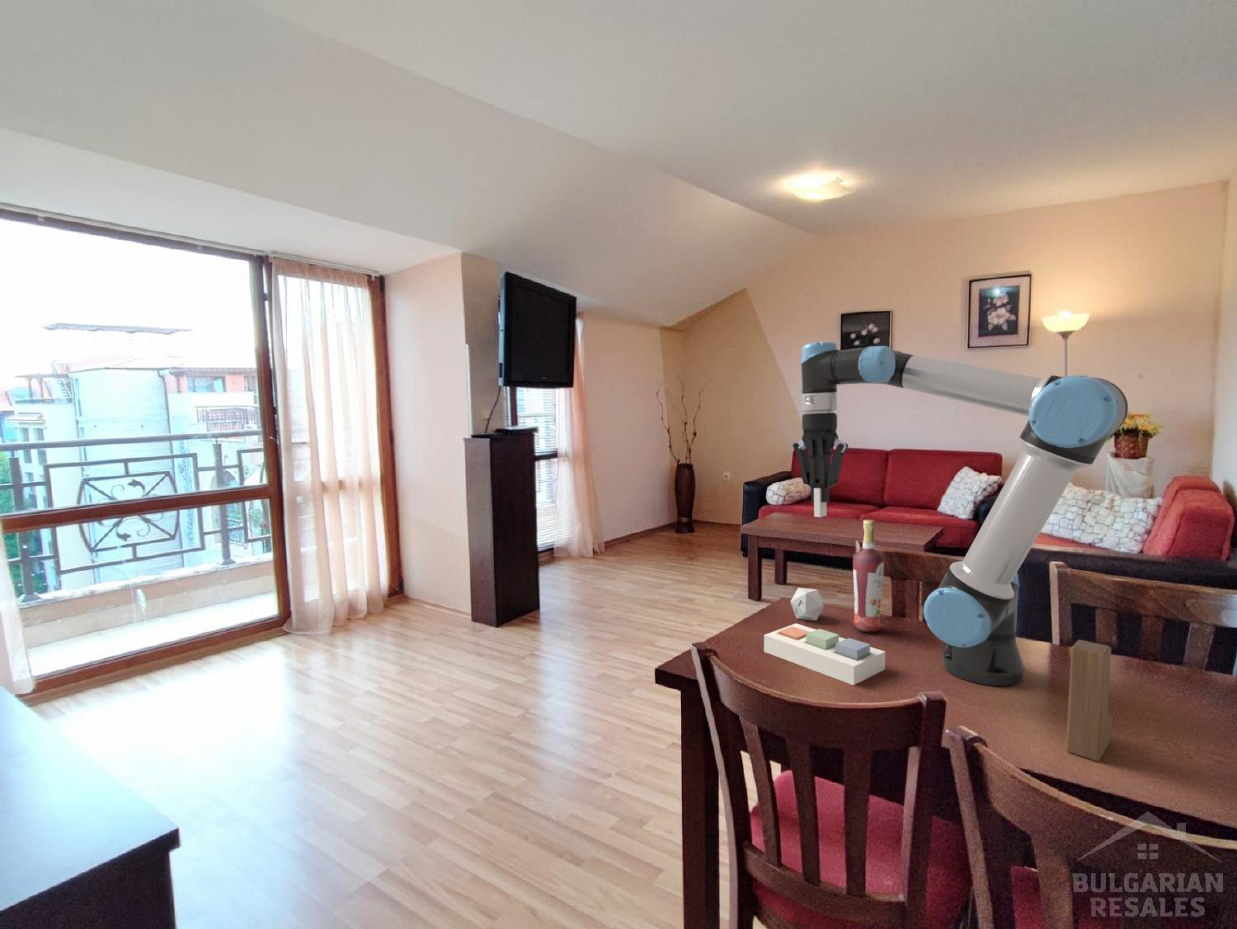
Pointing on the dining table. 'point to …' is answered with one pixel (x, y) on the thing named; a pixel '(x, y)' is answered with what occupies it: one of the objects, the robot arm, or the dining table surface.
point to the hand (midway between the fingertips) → (820, 516)
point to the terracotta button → (794, 633)
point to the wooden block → (1089, 700)
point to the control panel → (824, 657)
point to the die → (807, 604)
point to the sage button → (822, 639)
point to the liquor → (867, 582)
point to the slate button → (853, 649)
